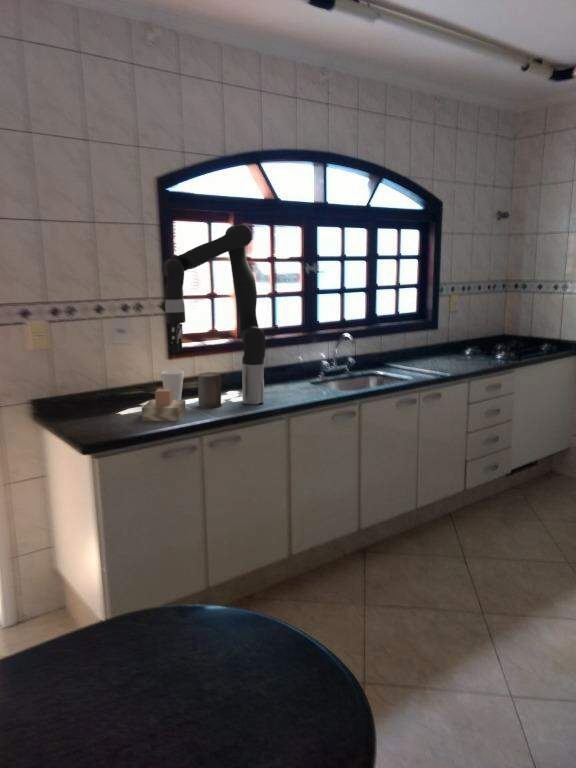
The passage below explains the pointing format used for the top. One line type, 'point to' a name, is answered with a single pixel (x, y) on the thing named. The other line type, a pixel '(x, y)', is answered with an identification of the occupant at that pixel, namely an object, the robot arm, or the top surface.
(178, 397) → the foam cup
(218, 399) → the pillar candle
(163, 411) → the birch plinth
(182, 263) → the robot arm
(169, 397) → the terracotta cube
